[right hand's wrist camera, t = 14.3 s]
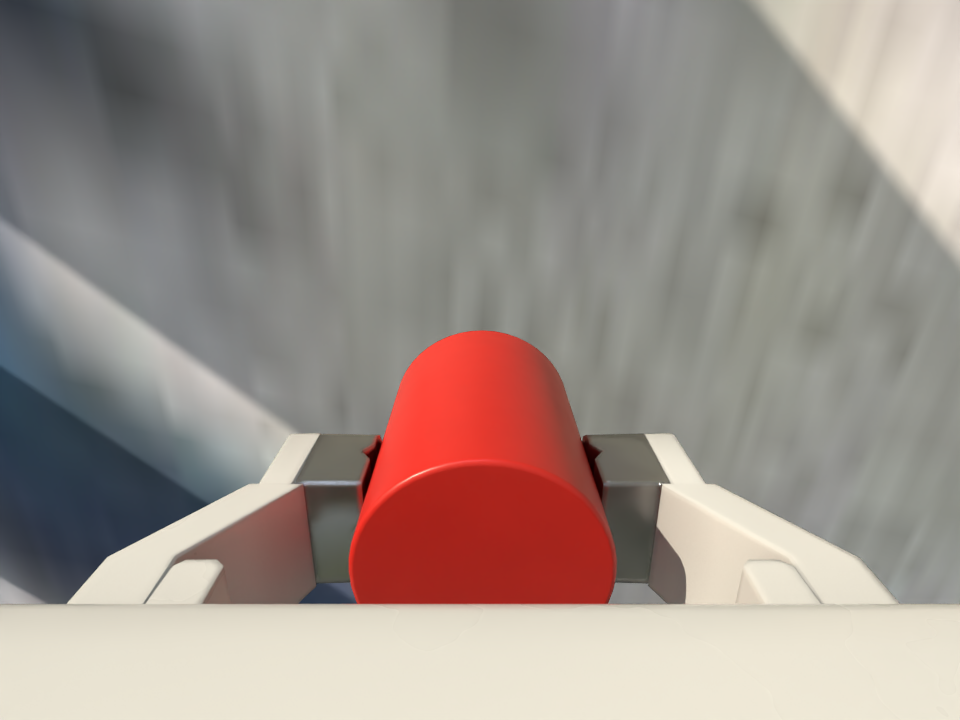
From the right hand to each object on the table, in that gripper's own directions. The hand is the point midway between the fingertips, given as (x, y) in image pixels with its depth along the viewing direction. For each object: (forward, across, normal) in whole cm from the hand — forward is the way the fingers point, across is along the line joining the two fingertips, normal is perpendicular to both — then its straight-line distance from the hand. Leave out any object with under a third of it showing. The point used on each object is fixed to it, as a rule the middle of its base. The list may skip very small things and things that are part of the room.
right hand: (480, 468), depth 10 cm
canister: (+2, 0, 0) cm, 2 cm away
